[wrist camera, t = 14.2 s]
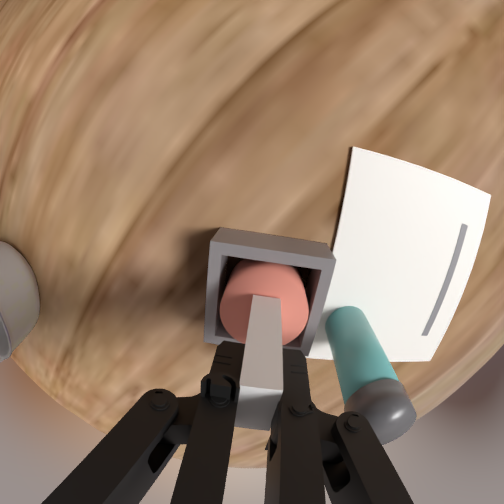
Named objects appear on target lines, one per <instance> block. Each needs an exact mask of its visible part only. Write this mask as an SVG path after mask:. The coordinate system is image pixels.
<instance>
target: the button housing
mask: <svg viewBox="0 0 504 504" xmlns="http://www.w3.org/2000/svg"><path fill="white" fill-rule="evenodd" d="M228 256H232V257H239V258H246V259H252V260H259V261H265V262H272V263H279V264H285V265H292V266H299V267H306V268H311V270H310V274H309V278H308V282H307V287H306V291H305V293H306V298H307V303H308V309H309V314H308V320H307V323H306V325H305V327H304V329H303V330H302V332H301V333H300V334H299V335H298V336H297V337H296V338H295V339H294V340H292V341H291V342H289V343H287V344H285V345H282V348H285V349H294V350H301V352H302V353H303V354H304V356H307V357H308V356H309V353H310V350H311V347H312V344H313V340H314V337H315V334H316V331H317V328H318V325H319V321H320V318H321V315H322V311H323V308H324V305H325V301H326V298H327V294H328V291H329V287H330V283H331V279H332V276H333V272H334V268H335V264H336V258H335V257H334V255H333V253H332V251H331V250H330V248H329V246H328V245H327V243H320V242H314V241H308V240H302V239H295V238H289V237H283V236H276V235H270V234H263V233H256V232H250V231H243V230H236V229H229V228H222V227H220V229H219V230H218V231H217V233H216V234H215V235H214V237H213V238H212V239H211V241H210V250H209V263H208V276H207V290H206V306H205V325H204V342H207V343H213V344H218V345H220V344H221V343H222V342H223V341H224V340H225V341H230V342H237V343H241V342H239V341H237V340H236V339H234V338H233V337H232V336H231V335H230V334H229V333H228V332H227V330H226V329H225V327H224V326H223V323H222V321H221V318H220V303H221V300H222V297H223V294H224V290H225V280H226V270H227V261H228Z"/></svg>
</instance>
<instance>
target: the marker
mask: <svg viewBox="0 0 504 504" xmlns="http://www.w3.org/2000/svg"><path fill="white" fill-rule="evenodd" d="M325 330H326V334H327V338H328V341H329V345H330V349H331V352H332V356H333V360H334V364H335V368H336V371H337V375H338V379H339V383H340V387H341V391H342V396H343V400H344V404H345V406H344V412H348V411H354V412H358V413H360V414H362V415H363V416H365V418H366V419H367V420H368V421H369V423H370V425H371V427H372V429H373V430H374V432H375V434H376V436H377V437H378V439H379V441H380V443H381V445H384V444H387V443H389V442H391V441H393V440H395V439H397V438H398V437H400V436H402V435H403V434H404V433H405V432H407V431H408V430H409V429H410V427H411V426H412V425H413V424H414V422H415V420H416V412H415V409H414V407H413V405H412V403H411V401H410V399H409V396H408V394H407V392H406V390H405V388H404V386H403V384H402V383H401V382H399V380H398V378H397V376H396V374H395V372H394V370H393V368H392V366H391V364H390V362H389V360H388V358H387V356H386V354H385V352H384V350H383V348H382V346H381V344H380V342H379V340H378V339H377V337H376V335H375V333H374V331H373V329H372V327H371V325H370V324H369V322H368V320H367V318H366V316H365V315H364V313H363V311H362V310H361V309H359V308H357V307H354V306H344V307H341V308H338V309H337V310H335V311H334V312H332V313H331V314H330V316H329V317H328V319H327V321H326V324H325Z"/></svg>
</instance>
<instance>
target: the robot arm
mask: <svg viewBox="0 0 504 504" xmlns="http://www.w3.org/2000/svg"><path fill="white" fill-rule="evenodd" d="M234 426H235V427H242V428H249V429H258V430H267V431H269V430H270V427H271V435H270V438H269V440H268V443H267V445H266V448H265V450H268V454H267V472H266V488H265V501H264V504H325V488H324V485H325V487H326V490H327V493H328V495H329V498H330V501H331V503H332V504H414V503H413V501H412V500H411V498H410V496H409V494H408V492H407V490H406V488H405V486H404V485H403V483H402V481H401V479H400V477H399V476H398V474H397V472H396V470H395V468H394V466H393V465H392V463H391V461H390V459H389V457H388V455H387V454H386V452H385V450H384V448H383V447H382V445H381V443H380V441H379V439H378V437H377V436H376V434H375V432H374V430H373V429H372V427H371V425H370V423H369V421H368V420H367V419H366V418H365V416H363V415H362V414H360V413H358V412H354V411H348V412H344V413H342V414H341V415H340V416H339V417H337V416H334V415H330V414H327V413H324V412H322V411H320V410H319V409H317V408H316V406H315V404H314V403H313V402H312V401H311V397H310V388H309V379H308V371H307V363H306V357H305V356H304V354H303V353H302V352H301V350H294V349H285V348H282V321H281V299H279V298H272V297H265V296H258V295H253V298H252V305H251V311H250V318H249V324H248V330H247V337H246V343H245V344H243V343H237V342H230V341H225V340H224V341H223V342H222V343H221V344H220V345H218V346H217V349H216V353H215V356H214V360H213V363H212V367H211V370H210V373H209V374H207V375H206V376H204V377H203V379H202V380H201V393H199V394H198V395H195V396H192V397H176V396H175V395H174V394H173V393H171V392H170V391H168V390H165V389H153V390H149V391H148V392H146V393H145V394H144V395H143V396H142V397H141V398H140V399H139V400H138V401H137V402H136V403H135V405H134V406H133V407H132V408H131V409H130V410H129V411H128V412H127V413H126V414H125V415H124V417H123V418H122V419H121V420H120V421H119V422H118V423H117V424H116V425H115V426H114V427H113V429H112V430H111V431H110V432H109V433H108V434H107V435H106V436H105V437H104V438H103V439H102V440H101V441H100V443H99V444H98V445H97V446H96V447H95V448H94V449H93V450H92V451H91V452H90V453H89V454H88V455H87V457H86V458H85V459H84V460H83V461H82V462H81V463H80V464H79V465H78V466H77V467H76V468H75V469H74V470H73V471H72V472H71V473H70V474H69V475H68V477H67V478H66V479H65V480H64V481H63V482H62V483H61V484H60V485H59V486H58V487H57V488H56V489H55V490H54V491H53V492H52V493H51V494H50V495H49V496H48V497H47V498H46V499H45V500H44V501H43V502H42V504H139V502H140V501H141V500H142V498H143V497H144V496H145V494H146V493H147V491H148V490H149V489H150V487H151V486H152V485H153V483H154V482H155V480H156V479H157V478H158V476H159V475H160V473H161V472H162V470H163V469H164V467H165V466H166V464H167V463H168V461H169V460H170V459H171V457H172V456H173V454H174V453H175V452H176V450H177V449H178V447H179V446H180V444H187V445H186V449H185V453H184V456H183V460H182V463H181V467H180V470H179V474H178V478H177V481H176V485H175V488H174V492H173V496H172V499H171V503H170V504H222V501H223V495H224V489H225V482H226V476H227V469H228V463H229V457H230V450H231V444H232V437H233V431H234Z"/></svg>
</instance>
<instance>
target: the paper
mask: <svg viewBox="0 0 504 504" xmlns="http://www.w3.org/2000/svg"><path fill="white" fill-rule="evenodd" d="M490 198H491V195H489V194H487V193H485V192H483V191H481V190H479V189H476V188H474V187H472V186H470V185H467V184H465V183H463V182H460V181H458V180H455V179H453V178H450V177H448V176H445V175H443V174H440V173H437V172H435V171H432V170H429V169H427V168H424V167H421V166H418V165H415V164H412V163H409V162H406V161H403V160H400V159H396V158H393V157H390V156H386V155H383V154H379V153H376V152H372V151H368V150H365V149H361V148H357V147H352V153H351V159H350V165H349V172H348V177H347V183H346V189H345V194H344V199H343V205H342V210H341V215H340V219H339V224H338V229H337V233H336V238H335V242H334V247H333V251H332V253H333V255H334V257H335V258H336V264H335V268H334V272H333V276H332V279H331V283H330V287H329V291H328V294H327V298H326V301H325V305H324V308H323V311H322V315H321V318H320V321H319V325H318V328H317V331H316V334H315V337H314V340H313V344H312V347H311V350H310V353H309V356H308V357H307V356H305V357H306V358H315V359H329V360H333V356H332V352H331V349H330V345H329V341H328V338H327V334H326V330H325V324H326V321H327V319H328V317H329V316H330V314H331V313H332V312H334V311H335V310H337V309H338V308H341V307H344V306H354V307H357V308H359V309H361V310H362V311H363V313H364V315H365V316H366V318H367V320H368V322H369V324H370V325H371V327H372V329H373V331H374V333H375V335H376V337H377V339H378V340H379V342H380V344H381V346H382V348H383V350H384V352H385V354H386V356H387V358H388V360H389V362H411V361H430V360H431V358H432V356H433V355H434V353H435V351H436V349H437V347H438V345H439V344H440V342H441V340H442V338H443V336H444V334H445V332H446V330H447V328H448V326H449V324H450V321H451V319H452V317H453V315H454V313H455V310H456V308H457V306H458V304H459V301H460V299H461V296H462V294H463V291H464V289H465V286H466V284H467V281H468V278H469V275H470V273H471V270H472V267H473V264H474V261H475V258H476V254H477V251H478V248H479V244H480V241H481V237H482V234H483V230H484V226H485V222H486V217H487V213H488V208H489V203H490Z"/></svg>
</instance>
